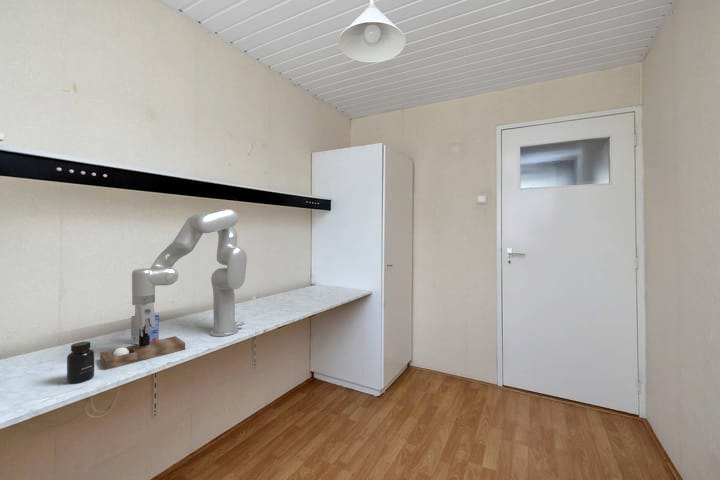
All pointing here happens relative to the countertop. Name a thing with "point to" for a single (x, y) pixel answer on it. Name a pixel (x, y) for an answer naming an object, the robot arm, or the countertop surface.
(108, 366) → the board
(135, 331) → the ink cartridge box
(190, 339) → the countertop surface
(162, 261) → the robot arm
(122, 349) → the ball
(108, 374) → the countertop surface
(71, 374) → the supplement bottle
